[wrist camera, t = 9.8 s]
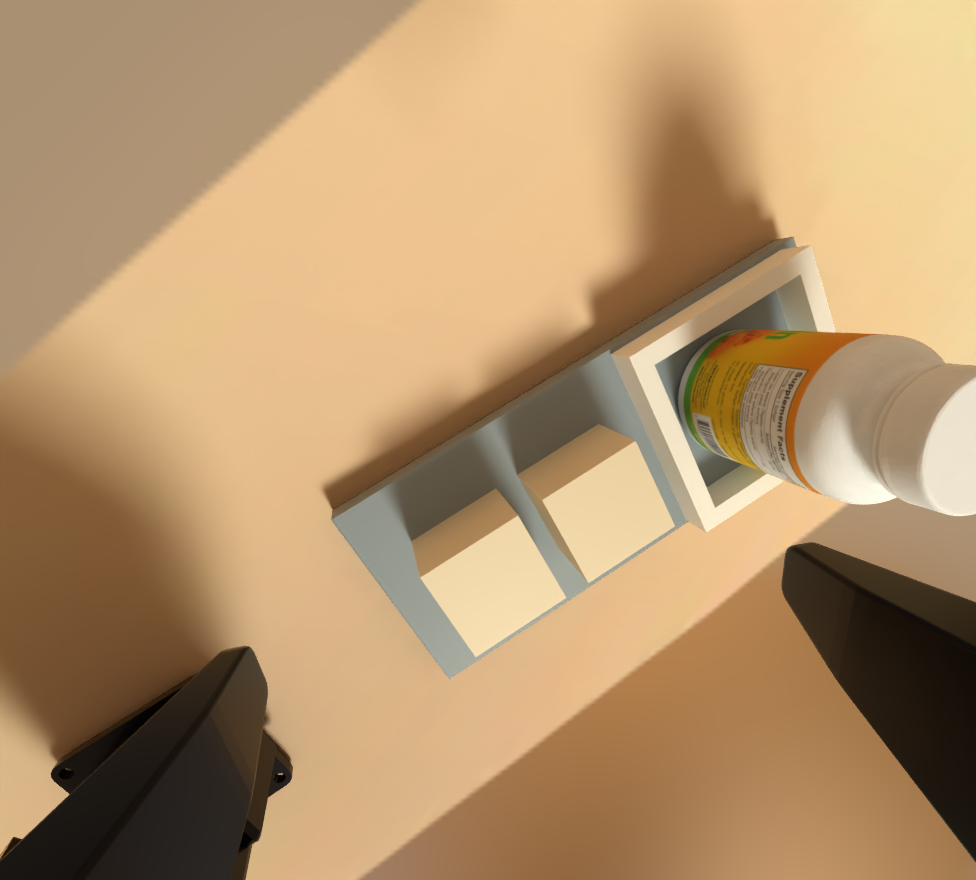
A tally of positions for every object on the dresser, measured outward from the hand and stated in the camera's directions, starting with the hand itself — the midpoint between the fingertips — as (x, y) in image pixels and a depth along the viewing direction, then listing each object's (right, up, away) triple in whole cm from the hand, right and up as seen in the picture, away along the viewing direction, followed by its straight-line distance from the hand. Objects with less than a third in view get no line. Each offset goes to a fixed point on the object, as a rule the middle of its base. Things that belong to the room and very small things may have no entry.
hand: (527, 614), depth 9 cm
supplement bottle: (+10, +5, +14) cm, 18 cm away
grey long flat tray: (+5, +2, +14) cm, 15 cm away
